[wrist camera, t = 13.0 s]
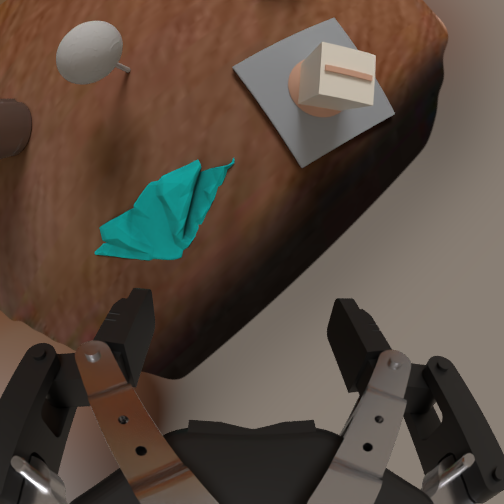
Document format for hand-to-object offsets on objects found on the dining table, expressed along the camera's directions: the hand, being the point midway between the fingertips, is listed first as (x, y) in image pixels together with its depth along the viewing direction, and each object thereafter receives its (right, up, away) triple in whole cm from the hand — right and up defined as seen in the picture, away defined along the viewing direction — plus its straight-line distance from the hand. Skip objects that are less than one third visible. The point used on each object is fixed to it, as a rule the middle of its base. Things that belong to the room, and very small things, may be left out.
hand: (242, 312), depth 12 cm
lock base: (+9, +24, +20) cm, 32 cm away
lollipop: (-16, +27, +18) cm, 36 cm away
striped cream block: (+9, +23, +19) cm, 31 cm away
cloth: (-13, +8, +27) cm, 31 cm away
